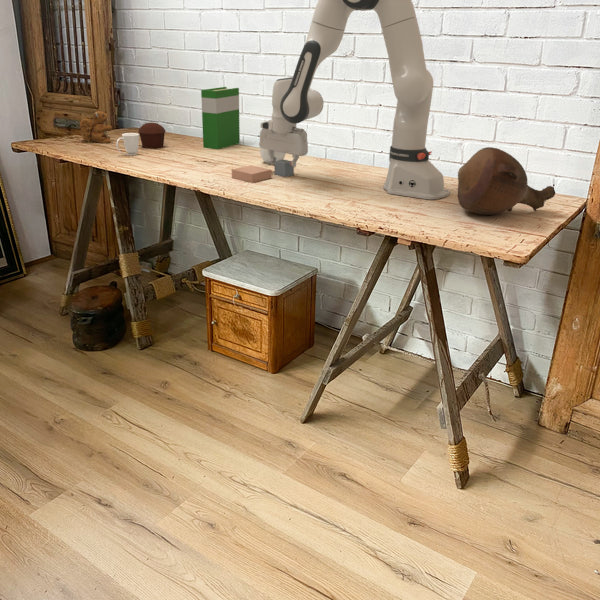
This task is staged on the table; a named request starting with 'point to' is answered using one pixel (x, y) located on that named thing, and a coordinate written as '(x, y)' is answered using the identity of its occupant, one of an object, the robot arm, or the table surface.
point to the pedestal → (251, 173)
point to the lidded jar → (266, 156)
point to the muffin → (152, 135)
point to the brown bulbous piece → (497, 184)
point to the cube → (283, 168)
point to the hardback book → (220, 117)
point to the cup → (129, 143)
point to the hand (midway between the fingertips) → (283, 164)
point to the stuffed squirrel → (96, 128)
